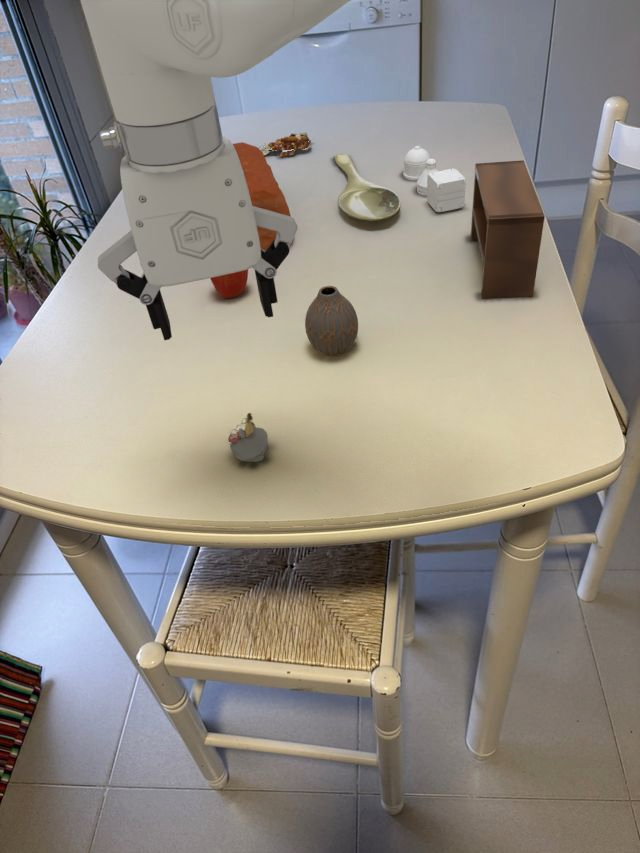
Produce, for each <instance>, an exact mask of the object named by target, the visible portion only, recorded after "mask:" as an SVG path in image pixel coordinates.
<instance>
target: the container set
mask: <svg viewBox="0 0 640 853" xmlns="http://www.w3.org/2000/svg"><path fill="white" fill-rule="evenodd" d="M403 169H404V170H403V171H402V172H403V174H402V175H403V178H404V179H406V180H407V181H408V180H409V181H415V182H416V192H417V193H418V194H419V195H421V196H426V200H427V203H428V205H429V206H430V207H431V208H432V209H433V210H434V211H435V212H436V213H442V212H448V211H452V210H457V209H462V208H463V207H464V206H465V202H466V197H465V196H466V186H467V185H466V182H467V181H466V177H465V176H464V175H463V174H462V173H461V172H459V170H458V169H457V168H448V169H443V170H438V168H437V161H436V159H435V158H431V156H430V154H429V152H428V150H426V149H424V148H422V147H421V145H414V147H413V148H411V149H410V150H409V151H407V152H406V154H405V156H404V160H403Z"/></svg>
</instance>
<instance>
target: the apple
mask: <svg viewBox="0 0 640 853" xmlns="http://www.w3.org/2000/svg"><path fill="white" fill-rule="evenodd" d="M248 277H249V269H247V270H243V271H240V272H235V273H231V274H226V275H222V276H217V277H212V278H209V279H210V282H211V284H212V286H213V287H214V289H215V291H216V292H217V294H219V295H220V297H222V298H225V299H231V298H235V297H237V296H239V295H241V294H242V293H243V292H244V291H245V289H246V287H247V283H248Z"/></svg>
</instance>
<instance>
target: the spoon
mask: <svg viewBox="0 0 640 853" xmlns="http://www.w3.org/2000/svg"><path fill="white" fill-rule="evenodd" d="M333 158H334V162H335V164H336V165H337V166H338V167H339V168H340V169H341V170H342V171H343V172H344V173H345V175H346V177H347V184H346V186H345V187H344V190H343V191H342V192H341V193H340V194H339V195H338V200H337V203H338V204H337V205H338V207H339V209H340V210H341V211H342V213H343V214H345V215H347V216H348V217H351V218H353V219H356V220H361V221H369V222H370V221H372V222H373V221H380V220H382V221H383V220H386V219H388V218H391V217H392V216H394V215H396V214H397V213H398V212H399V211H400V209H401V204H402V201H401V199H400V197H399V195H398V194H397V193H396V191H393V190H392V189H390V188H388V187H387V186H386V187H385V186H382V185H378V184H375V183H373V182H371V181H369V180H366V179H364V178H363V177H362V176H361V175H360V173H358V171H357V169H356V167H355V164H354V163H353V161H352V159H351V158H350V156H349V154H345V153H338V154H336V155H334V157H333Z"/></svg>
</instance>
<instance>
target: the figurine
mask: <svg viewBox="0 0 640 853" xmlns="http://www.w3.org/2000/svg"><path fill="white" fill-rule="evenodd" d="M253 418H254V417H253V414H252V413H251V412H248V413H247V414H246V417H244V418H243V419H242V420H241V422H240V424H237V425H236V427H235V428H233V429H231V430H230V432H231V433H230V432H228V433H227V434H228V437H227V442H228V443H229V444H228V446H229V448H230V450H231V453H232V454H233V455H234V456H235V457H236V458H237V459H239V460H240V462H252V463H258V462H261V461H263V459H264V458H265V453H266V451H267V450H268V444H269V443H268V440H269V436H268V433H267V431H266V430H265V429H264V428H262V427H257V425H256V424H255V423H254V422H253ZM244 420H245V421H244ZM242 425H245V426H244V429H243V428H241V427H240V426H242ZM238 427H239V428H238ZM237 428H238V429H237ZM233 431H236V433H234V432H233Z"/></svg>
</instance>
